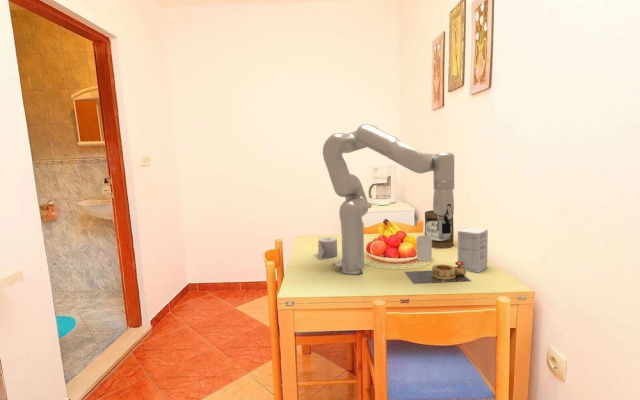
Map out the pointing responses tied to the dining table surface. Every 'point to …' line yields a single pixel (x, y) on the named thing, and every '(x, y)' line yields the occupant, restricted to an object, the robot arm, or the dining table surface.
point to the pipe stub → (441, 235)
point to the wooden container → (434, 233)
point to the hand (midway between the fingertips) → (443, 231)
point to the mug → (424, 248)
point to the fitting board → (430, 279)
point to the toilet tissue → (327, 247)
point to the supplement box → (473, 249)
